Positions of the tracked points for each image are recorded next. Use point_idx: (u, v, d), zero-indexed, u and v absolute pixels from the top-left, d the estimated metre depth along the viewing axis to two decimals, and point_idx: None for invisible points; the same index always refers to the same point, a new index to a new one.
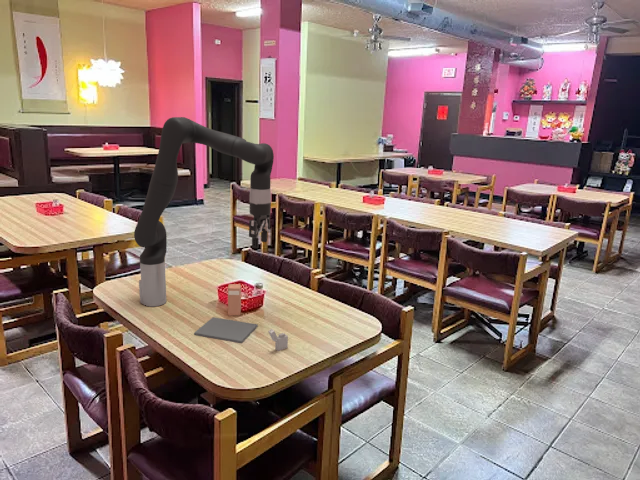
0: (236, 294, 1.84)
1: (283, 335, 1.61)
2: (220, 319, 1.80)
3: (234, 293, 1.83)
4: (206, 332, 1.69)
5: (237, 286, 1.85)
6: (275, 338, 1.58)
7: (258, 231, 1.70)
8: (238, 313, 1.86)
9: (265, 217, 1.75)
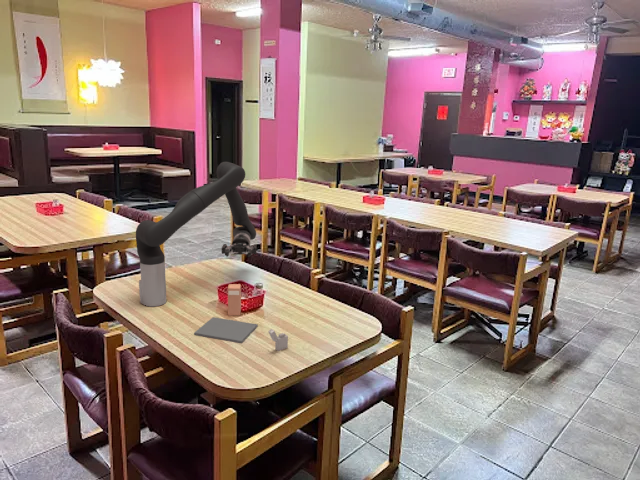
0: (236, 294, 1.84)
1: (283, 335, 1.61)
2: (220, 319, 1.80)
3: (234, 293, 1.83)
4: (206, 332, 1.69)
5: (237, 286, 1.85)
6: (275, 338, 1.58)
7: None
8: (238, 313, 1.86)
9: None
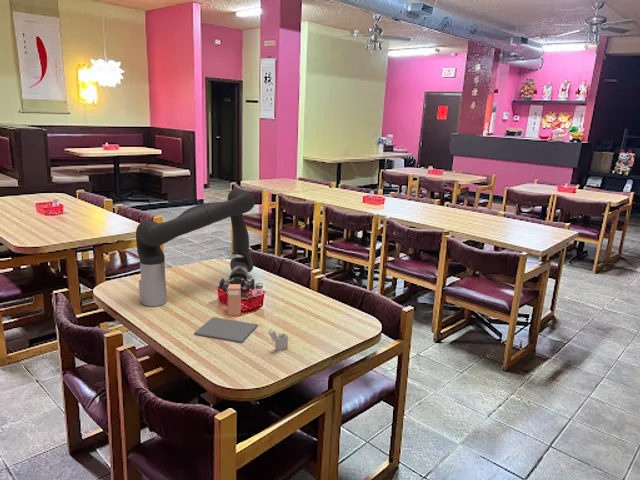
0: (236, 294, 1.84)
1: (283, 335, 1.61)
2: (220, 319, 1.80)
3: (234, 293, 1.83)
4: (206, 332, 1.69)
5: (237, 286, 1.85)
6: (275, 338, 1.58)
7: None
8: (238, 313, 1.86)
9: None
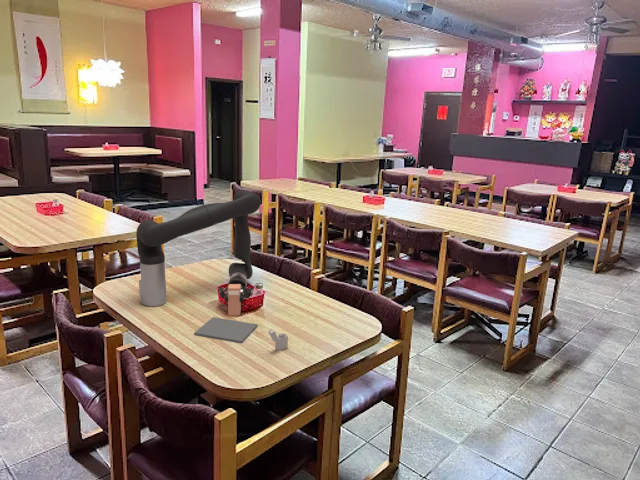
0: (236, 294, 1.84)
1: (283, 335, 1.61)
2: (220, 319, 1.80)
3: (234, 293, 1.83)
4: (206, 332, 1.69)
5: (237, 286, 1.85)
6: (275, 338, 1.58)
7: None
8: (238, 313, 1.86)
9: None
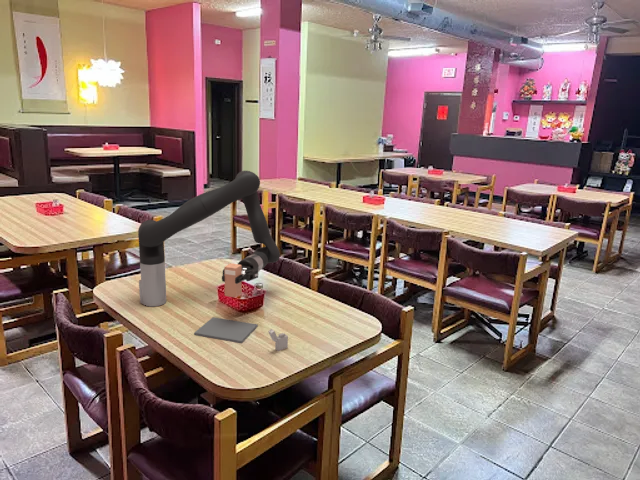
0: (232, 274, 1.72)
1: (283, 335, 1.61)
2: (220, 319, 1.80)
3: (230, 273, 1.72)
4: (206, 332, 1.69)
5: (235, 266, 1.73)
6: (275, 338, 1.58)
7: None
8: (234, 295, 1.74)
9: None
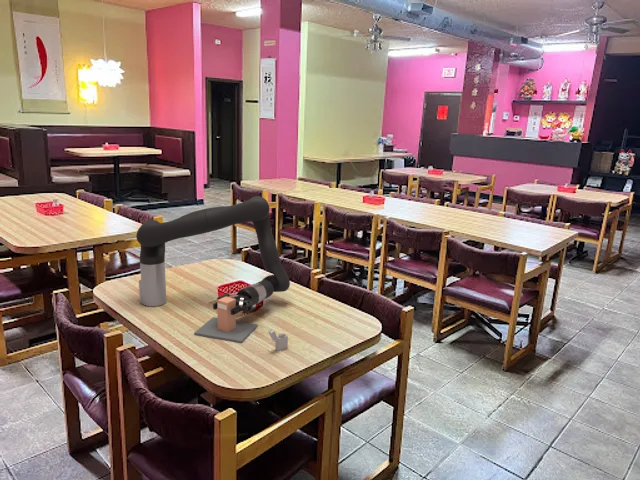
0: (224, 309, 1.68)
1: (283, 335, 1.61)
2: None
3: (222, 307, 1.69)
4: (206, 332, 1.69)
5: (228, 300, 1.69)
6: (275, 338, 1.58)
7: None
8: (226, 329, 1.70)
9: None
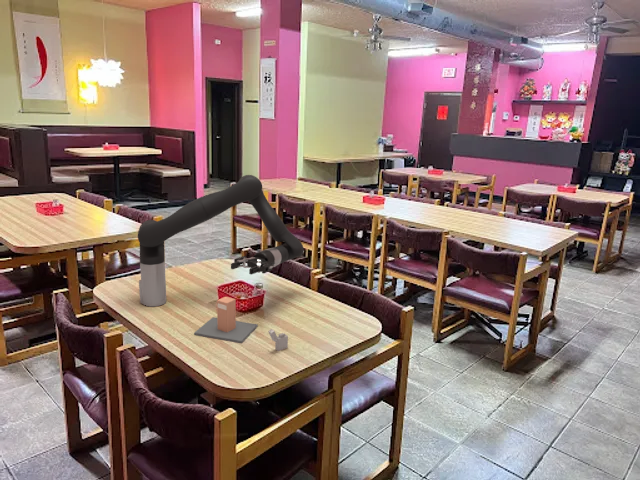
0: (224, 309, 1.68)
1: (283, 335, 1.61)
2: None
3: (222, 307, 1.69)
4: (206, 332, 1.69)
5: (228, 300, 1.69)
6: (275, 338, 1.58)
7: None
8: (226, 330, 1.70)
9: None
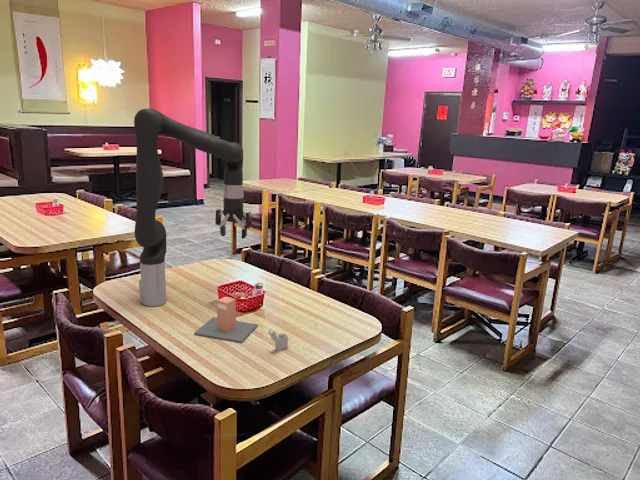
0: (224, 309, 1.68)
1: (283, 335, 1.61)
2: None
3: (222, 307, 1.69)
4: (206, 332, 1.69)
5: (228, 300, 1.69)
6: (275, 338, 1.58)
7: (244, 222, 1.88)
8: (226, 330, 1.70)
9: None
